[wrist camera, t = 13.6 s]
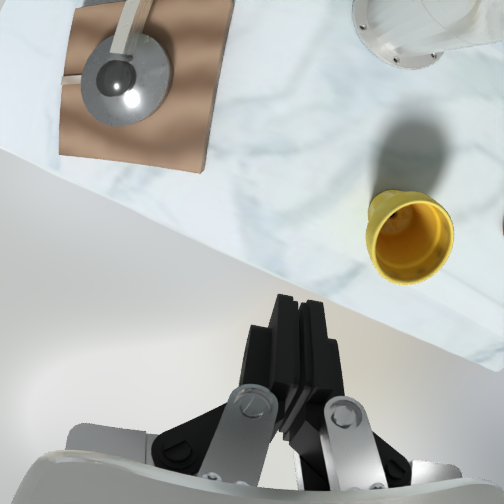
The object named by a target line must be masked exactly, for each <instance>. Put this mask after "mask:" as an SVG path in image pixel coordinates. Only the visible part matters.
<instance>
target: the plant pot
mask: <svg viewBox="0 0 504 504" xmlns="http://www.w3.org/2000/svg"><path fill="white" fill-rule="evenodd" d="M394 212H395V215H394V216H393V217H391V218H390V216H391V215H392V214H393V213H394ZM368 220H369V222H368V225H367V230H366V245H367V249H368V252H369V255H370V258H371V260H372V262H373V264H374V267H375V268H376V270H377V271H378V273H379V274H380V275H381V276H382V277H383V278H385V279H386V280H388V281H390V282H392V283H395V284H399V285H412V284H416V283H420V282H422V281H425V280H427V279H428V278H430V277H431V276H433V275H434V274H435V273H437V272H438V271H439V270H440V269H441V268H442V266H443V265H444V264H445V262H446V261H447V259H448V257H449V255H450V253H451V250H452V246H453V242H454V228H453V223H452V220H451V218H450V216H449V214H448V213H447V211H446V210H445V209H444V208H443V207H442V206H441V205H440V204H439V203H438V202H436V201H435V200H434V199H432V198H431V197H429V196H427V195H425V194H423V193H420V192H416V191H405V192H402V191H399V190H386V191H383V192H381V193H380V194H378V195H377V196H376V197H375V198H374V199H373V200H372V202H371V204H370V207H369V210H368Z"/></svg>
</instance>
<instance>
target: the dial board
mask: <svg viewBox="0 0 504 504" xmlns="http://www.w3.org/2000/svg"><path fill="white" fill-rule="evenodd" d="M125 2H126V1H121V2H113V3H106V4H99V5H93V6H87V7H81V8H76V9H75V12H74V17H73V21H72V26H71V31H70V36H69V42H68V47H67V54H66V60H65V67H64V75H63V77H62V82H61V85H62V94H61V107H60V124H59V155H66V156H76V157H85V158H94V159H103V160H111V161H119V162H127V163H134V164H142V165H149V166H155V167H162V168H168V169H175V170H181V171H187V172H193V173H199V174H200V173H201V172H203V171H204V167H205V160H206V154H207V147H208V140H209V134H210V127H211V121H212V115H213V109H214V103H215V98H216V92H217V86H218V81H219V76H220V70H221V65H222V60H223V55H224V50H225V45H226V40H227V35H228V31H229V26H230V21H231V17H232V12H233V8H234V4H233V2H232V0H153V2H152V4H151V7H150V10H149V13H148V16H147V19H146V22H145V24H144V28H143V31H142V34H145V35H148V36H150V37H153V38H155V39H156V40H158V41H159V42H160V43H161V44H162V45H163V46H164V47H165V48H166V50H167V51H168V53H169V55H170V58H171V61H172V65H173V81H172V85H171V89H170V92H169V94H168V96H167V98H166V100H165V101H164V103H163V104H162V106H161V107H160V108H159V109H158V110H157V111H156V112H155V113H154V114H153V115H151V116H150V117H149V118H147V119H145V120H143V121H141V122H138V123H135V124H131V125H127V126H121V127H115V126H109V125H105V124H103V123H101V122H99V121H98V120H96V119H95V118H94V117H93V116H92V115H91V114H90V113H89V112H88V110H87V108H86V107H85V104H84V102H83V99H82V95H81V76H82V72H83V68H84V66H85V63H86V61H87V59H88V57H89V56H90V54H91V53H92V52H93V50H94V49H95V48H96V47H97V46H98V45H99V44H100V43H101V42H103V41H104V40H105V39H107V38H109V37H111V36H113V35H115V32H116V29H117V26H118V23H119V20H120V17H121V14H122V11H123V8H124V5H125Z"/></svg>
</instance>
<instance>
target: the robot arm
mask: <svg viewBox="0 0 504 504" xmlns="http://www.w3.org/2000/svg"><path fill="white" fill-rule="evenodd" d="M352 19H353V23H354V27H355V29H356V32H357V34H358V36H359V37H360V39H361V41H362V42H363V44H364V45H365V46H366V47H367V48H368V49H369V50H370V51H371V52H372V53H373V54H374V55H375V56H377V57H378V58H379V59H381V60H382V61H384V62H386V63H388V64H390V65H392V66H395V67H398V68H402V69H412V70H413V69H421V68H425V67H428V66H430V65H432V64H434V63H435V62H436V61H438V60H439V58H440V57H441V56H442V54H443V52H444V51H448V50H453V49H459V48H465V47H472V46H479V45H486V44H493V43H497V42H501V41H503V40H504V0H354V2H353V8H352ZM360 27H363V30H362V29H360ZM431 54H432V56H433V57H432V56H431ZM393 59H396V62H394V60H393ZM278 429H279V432H283V440H285V441H289V445H290V446H291V447H292V448H293V449H294V463H295V470H296V477H297V485H298V490H284V489H271V488H262V487H257V485H258V482H259V479H260V475H261V472H262V468H263V465H264V461H265V457H266V454H267V450H268V447H269V443H271V441H272V439H273V437H274V436H275V434H276V432H277V431H278ZM11 504H504V491H503V489H502V488H501V487H500V486H499V485H498V484H496V483H494V482H492V481H489V480H485V479H480V478H462V473H461V472H460V470H459V468H457V467H456V466H454V465H452V464H444V463H434V462H426V461H419V460H412V461H410V462H409V461H407V460H406V458H405V457H403V456H402V455H401V454H400V453H399V452H397V451H396V450H395V449H393V448H392V447H391V446H390V445H389V444H387V443H386V442H385V441H384V440H382V439H381V438H380V437H379V436H378V435H376V434H375V433H374V432H373V431H372V430H371V426H370V423H369V420H368V417H367V414H366V411H365V409H364V407H363V406H362V405H361V404H360V403H359V402H358V401H356V400H355V399H353V398H350V397H347V396H345V394H344V386H343V379H342V371H341V363H340V357H339V350H338V344H337V341H336V340H335V339H329V338H328V336H327V328H326V320H325V313H324V307H323V302H319V301H313V300H307V302H306V303H303V302H302V303H301V305H300V307H299V310H298V302H297V301H293V297H292V296H288V295H283V294H278V295H277V299H276V302H275V305H274V309H273V312H272V316H271V319H270V322H269V326H268V328H266V327H261V326H256V325H251V327H250V331H249V335H248V339H247V343H246V347H245V352H244V357H243V363H242V369H241V375H240V381H239V387H237V388H236V389H235V390H233V392H232V393H231V395H230V397H229V399H228V402H227V403H225V404H223V405H221V406H219V407H217V408H215V409H213V410H211V411H209V412H207V413H205V414H203V415H201V416H198V417H196V418H194V419H192V420H190V421H188V422H186V423H184V424H181V425H179V426H177V427H175V428H172V429H170V430H168V431H165V432H163V433H162V434H160V435H157V434H147V433H146V431H139V430H130V429H122V428H115V427H108V426H102V425H95V424H90V423H81V424H78V425H76V426H74V427H73V428H72V429H71V430H70V432H69V435H68V437H67V443H66V449H65V450H60V451H53V452H49V453H46V454H44V455H43V456H41V457H40V458H38V459H37V460H36V462H35V463H34V464H33V465H32V466H31V468H30V469H29V470H28V472H27V473H26V475H25V477H24V478H23V480H22V482H21V484H20V486H19V488H18V490H17V492H16V494H15V496H14V498H13V501H12V503H11Z"/></svg>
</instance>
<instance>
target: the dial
mask: <svg viewBox="0 0 504 504" xmlns="http://www.w3.org/2000/svg"><path fill="white" fill-rule="evenodd" d="M152 2H153V0H126V2H125V5H124V8H123V11H122V14H121V17H120V20H119V23H118V26H117V29H116V32H115V35H113V36H111V37H109V38H107V39H105V40H104V41H103V42H101V43H100V44H99V45H98V46H97V47H96V48H95V49H94V50H93V52H92V53H91V54H90V56H89V57H88V59H87V61H86V63H85V66H84V68H83V72H82V76H81V95H82V99H83V102H84V104H85V107H86V108H87V110H88V112H89V113H90V114H91V115H92V116H93V117H94V118H95V119H96V120H98V121H99V122H101V123H103V124H105V125H109V126H115V127H121V126H127V125H131V124H135V123H138V122H141V121H143V120H145V119H147V118H149V117H150V116H151V115H153V114H154V113H155V112H156V111H157V110H158V109H159V108H160V107H161V106H162V104H163V103H164V101H165V100H166V98H167V96H168V94H169V92H170V89H171V85H172V81H173V65H172V61H171V58H170V55H169V53H168V51H167V50H166V48H165V47H164V46H163V45H162V44H161V43H160V42H159V41H158V40H156V39H155V38H153V37H150V36H148V35H145V34H142V31H143V28H144V24H145V22H146V19H147V16H148V13H149V10H150V7H151V4H152Z"/></svg>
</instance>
